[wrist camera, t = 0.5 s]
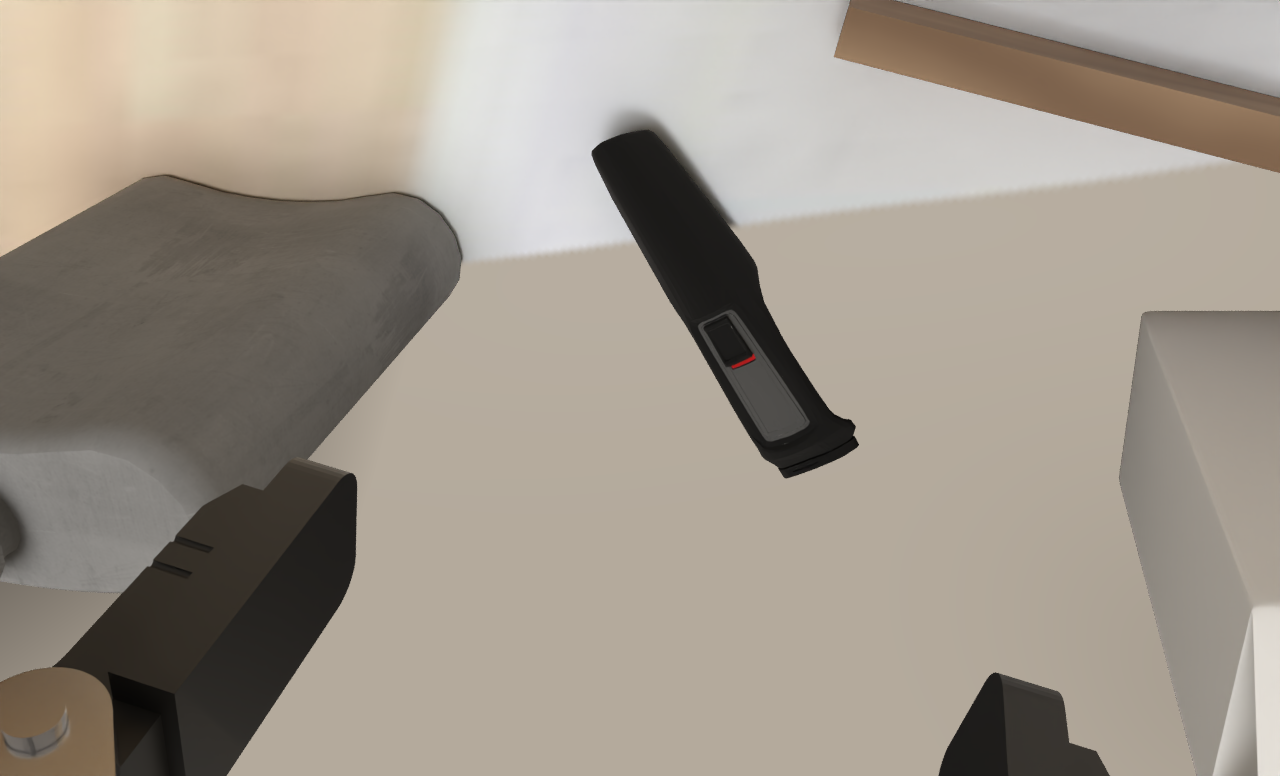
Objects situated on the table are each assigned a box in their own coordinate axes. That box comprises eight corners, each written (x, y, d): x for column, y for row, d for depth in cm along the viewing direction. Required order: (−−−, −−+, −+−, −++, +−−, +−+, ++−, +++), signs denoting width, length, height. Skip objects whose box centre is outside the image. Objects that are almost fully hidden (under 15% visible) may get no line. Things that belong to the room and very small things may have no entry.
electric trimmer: (669, 91, 36) (648, 116, 34) (868, 435, 41) (863, 481, 39) (583, 140, 38) (556, 169, 35) (784, 465, 43) (774, 512, 40)
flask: (152, 296, 46) (-287, 608, 29) (115, 169, 43) (-398, 436, 26) (472, 329, 43) (184, 697, 26) (457, 195, 40) (121, 515, 23)
